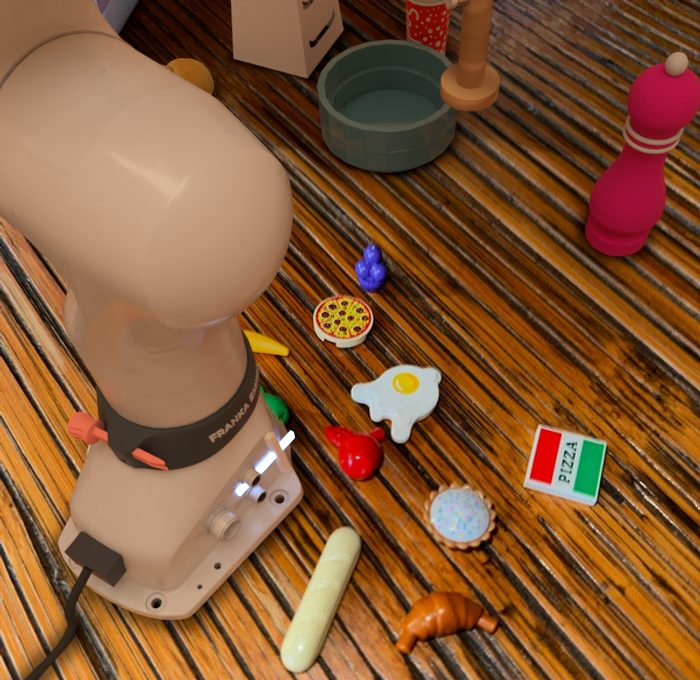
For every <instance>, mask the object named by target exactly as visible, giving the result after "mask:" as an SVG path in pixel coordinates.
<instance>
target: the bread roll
mask: <svg viewBox="0 0 700 680" xmlns="http://www.w3.org/2000/svg"><path fill="white" fill-rule="evenodd" d="M161 65H162V66H163V67H165V68H167V69H168V70H170V71H172V72H173V73H175V74H177V75H178V76H180V77H182V78H184V79H185V80H187V81H189V82H190V83H192V84H194V85H195V86H197V87H199V88H200V89H202V90H204V91H205V92H207V93H209V94H210V95H212V96H213V93H214V91H215V90H214V89H215V82H214V79H213V75H212V74H211V71H210V70H209V69H208V68H207V66H205V64H204V63H202V62H200V61H199V60H196V59H193V58H182V57H181V58H180V57H179V58H176V59H173V60H171V61H170V62H169V63H167V64H166V65H164V64H161Z"/></svg>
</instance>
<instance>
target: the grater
mask: <svg viewBox="0 0 700 680" xmlns="http://www.w3.org/2000/svg"><path fill="white" fill-rule="evenodd" d="M311 1H312V2H311ZM230 3H231V4H230V7H231V8H230V9H231V29H232V31H231V32H232V52H233V53H232V54H233V58H232V59H234V60H237V61H241V62H243V63H249V64H252V65H256V66H259V67H263V68H266V69H270V70H274V71H278V72H281V73H286V74H289V75H294V76H297V77H300V78H304V79H308V78H309V77H310V76H311V74H312V73H313V72H314V70H315V69H316V68H317V66H318V65H319V64H320V63H321V61H322V60H323V58H324V57H325V55H326V54H327V53H328V51H330V49H331V48H332V46H333V45H334V43H335V42H336V41H337V40H338V38H339V37H340V36H341V34H342V33H343V32H344V25H343V20H342V19H343V18H342V14H341V9H340V8H341V7H340V3H339V0H230ZM304 3H307V4H304ZM326 26H327V27H328V29H326V31H325V33H324V34H323V35H321V38H319V40H318V41H317V43H316V44H315V45H314V46H313V47H311V44H310V42H314V41H315V40H316V39H317V38H318V36H319V35H320V33H321V32H322V31H323V30H324V28H325V27H326Z"/></svg>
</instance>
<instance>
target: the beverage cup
mask: <svg viewBox="0 0 700 680" xmlns="http://www.w3.org/2000/svg"><path fill="white" fill-rule="evenodd" d="M451 11H452V10H447V8H446V3H445V0H405V22H406V23H405V24H406V26H405V27H406V41H412V42H415V43H418V44H422V45H425V46H429V47H431V48H433V49H434V50H436V51H438V52H439V53H441V54H443V55H444V56H446V49H447V42H448V34H449V26H450V19H451Z"/></svg>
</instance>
